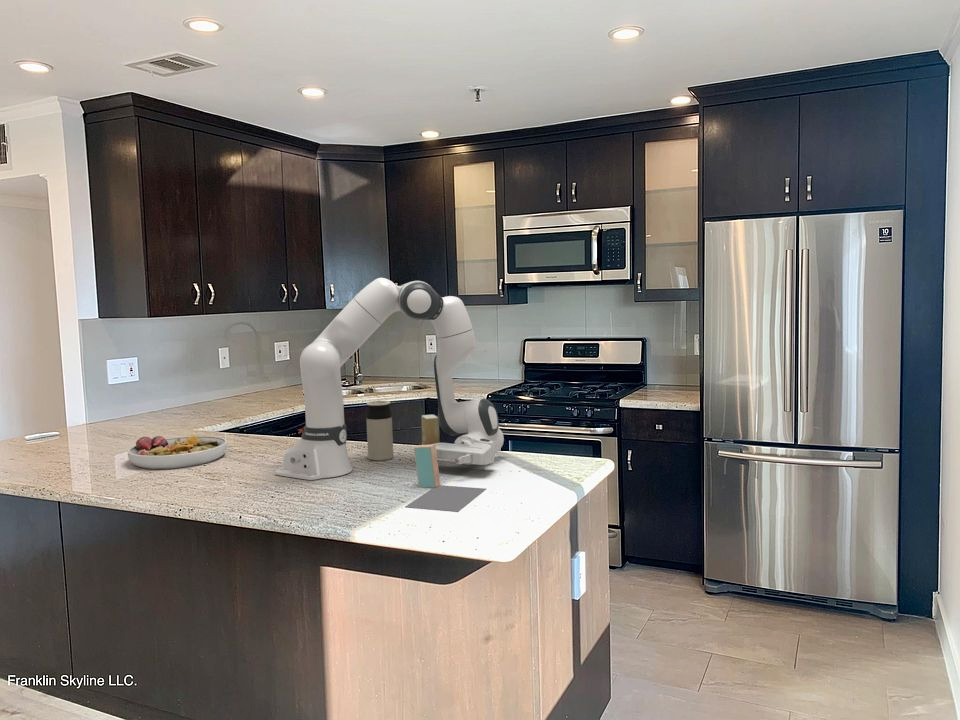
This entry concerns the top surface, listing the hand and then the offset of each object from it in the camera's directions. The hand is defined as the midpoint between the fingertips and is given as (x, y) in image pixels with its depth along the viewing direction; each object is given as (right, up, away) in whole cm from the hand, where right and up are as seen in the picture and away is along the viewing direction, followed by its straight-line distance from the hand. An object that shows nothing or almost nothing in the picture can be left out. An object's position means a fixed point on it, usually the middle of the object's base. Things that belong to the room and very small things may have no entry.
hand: (443, 459), depth 197 cm
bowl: (-88, -6, +36) cm, 96 cm away
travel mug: (-21, -4, +29) cm, 37 cm away
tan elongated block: (-3, -6, -6) cm, 9 cm away
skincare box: (-6, -3, +34) cm, 35 cm away
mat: (+2, -8, -17) cm, 19 cm away
